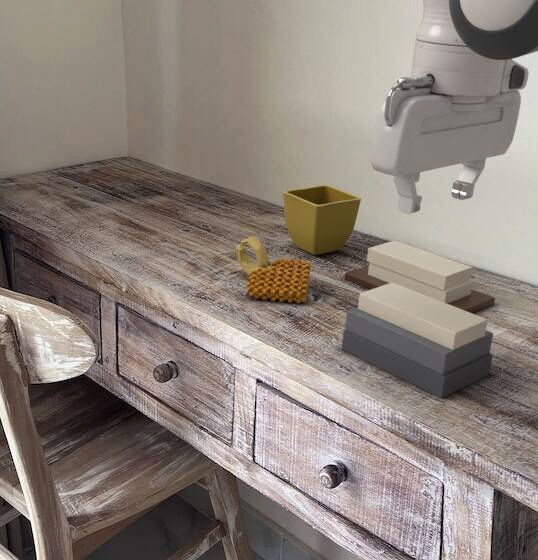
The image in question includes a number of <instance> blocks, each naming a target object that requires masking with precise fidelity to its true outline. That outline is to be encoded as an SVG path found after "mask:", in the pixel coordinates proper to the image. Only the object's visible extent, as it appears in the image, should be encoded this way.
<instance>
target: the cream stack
mask: <svg viewBox="0 0 538 560" xmlns="http://www.w3.org/2000/svg"><path fill="white" fill-rule="evenodd" d="M366 262H368V265H366V266H362V267H359V268H355V269H353V270H348V271H345V272H344V280H347V281H349V282H351V283H353V284H356V285H358V286H361V287H364V288H366V289H369V290H371V289H374V288H377V287H380V286H383V285H386V284H389V283H395V284H398V285H400V286H403V287H405V288H408V289H410V290H413V291H416V292H418V293H421V294H423V295H426V296H428V297H431V298H434V299H436V300H439V301H441V302H444V303H446V304H449V305H451V306H454V307H457V308H459V309H462V310H464V311H467V312H469V313H472V314H474V313H476V312H478V311H481V310H483V309H486V308H488V307H490V306H491V307H492V306H493V305H495V300H496V297H495V296H491V295H489V294H487V293H483V292H480V291H478V290H476V289H473V283H474V282H473V280H472V279H471V278H472V273H473V266H471V265H469V264H468V265H467V264H466V263H462V262H459V261H456V260H453V259H450V258H447V257H444V256H442V255H438V254H436V253H433V252H430V251H427V250H424V249H422V248H419V247H415V246H412V245H410V244H406V243H404V242H400V241H398V240H392V241H389V242H385V243H381V244H378V245H375V246H371V247H368V248H367V255H366Z"/></svg>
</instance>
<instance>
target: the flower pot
mask: <svg viewBox="0 0 538 560" xmlns="http://www.w3.org/2000/svg"><path fill="white" fill-rule="evenodd" d="M282 194H283V195H282V196H283V211H284V221H285V226H286V230H287V232H288V235H289V237H290V238H291V240H292V242H293V244H294V246H295V247H297V248H299V249H301V250H303V251H305V252H307V253H309V254H311V255H313V256H319V255H324V254H329V253H333V252H338V251H340V250H341V249H342V248H343V247H344V246H345V244H346V243H347V242H348V240H349V238H351V235H352V233H353V231H354V228H355V225H356V221H357V218H358V213H359V210H360V205H361V200H362V198H361V197H360V196H357V195H356V194H355V195H354V194H352V193H349V192H348V191H347V192H346V191H343V190H342V189H339V188H336V187H334V186H331V185H327V184H320V185H316V186H315V185H314V186H309V187H304V188H303V187H302V188H295V189H289V190H284V191H282Z"/></svg>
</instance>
